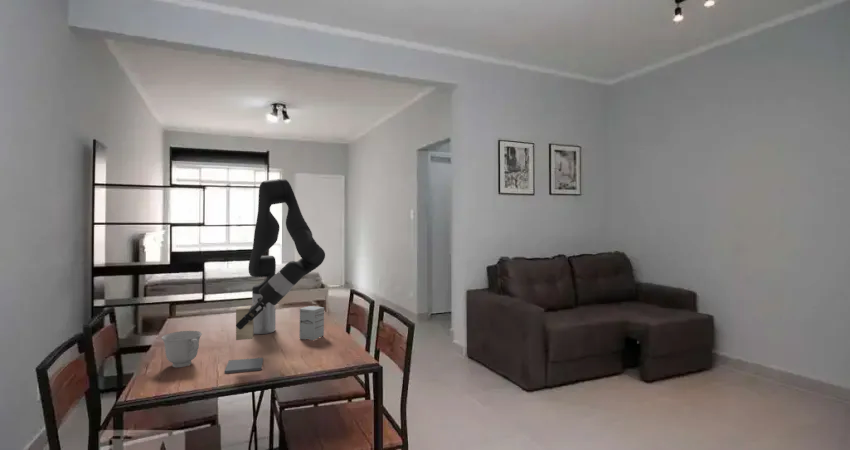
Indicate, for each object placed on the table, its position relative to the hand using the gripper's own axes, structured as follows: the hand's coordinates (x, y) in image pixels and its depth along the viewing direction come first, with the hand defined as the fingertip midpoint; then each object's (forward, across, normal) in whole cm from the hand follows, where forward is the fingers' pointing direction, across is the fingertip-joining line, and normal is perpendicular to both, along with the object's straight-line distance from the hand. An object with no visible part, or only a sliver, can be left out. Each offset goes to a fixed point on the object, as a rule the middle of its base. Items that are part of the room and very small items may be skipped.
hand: (239, 325), depth 146 cm
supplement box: (-8, -31, +28) cm, 42 cm away
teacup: (+22, -7, -3) cm, 23 cm away
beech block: (+2, 0, +4) cm, 5 cm away
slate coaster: (+8, 0, +11) cm, 14 cm away
